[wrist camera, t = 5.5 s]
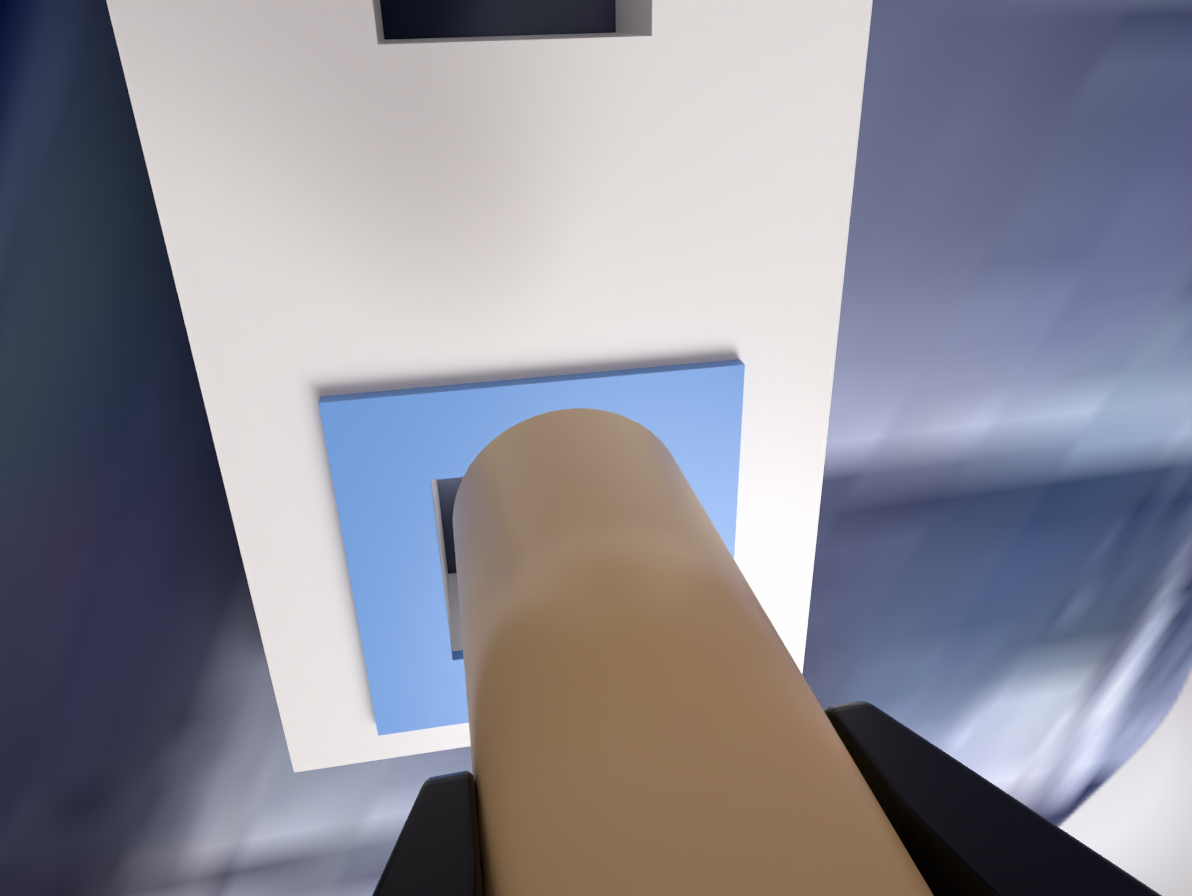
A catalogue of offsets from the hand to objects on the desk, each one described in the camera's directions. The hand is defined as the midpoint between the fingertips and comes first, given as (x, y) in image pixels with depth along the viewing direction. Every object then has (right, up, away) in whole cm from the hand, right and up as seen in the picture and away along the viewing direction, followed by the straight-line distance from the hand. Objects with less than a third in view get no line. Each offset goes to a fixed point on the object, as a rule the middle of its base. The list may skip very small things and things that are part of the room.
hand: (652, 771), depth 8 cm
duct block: (-2, +7, +10) cm, 13 cm away
